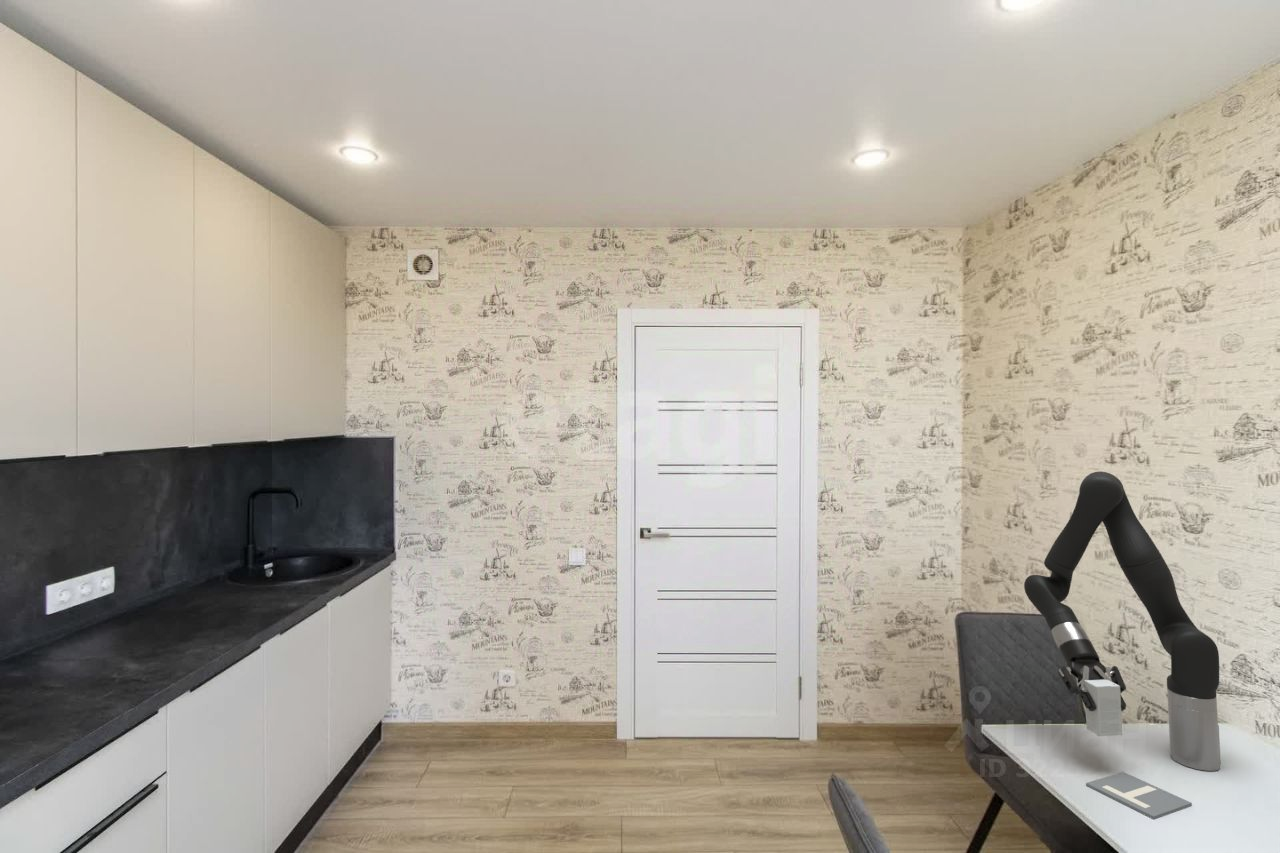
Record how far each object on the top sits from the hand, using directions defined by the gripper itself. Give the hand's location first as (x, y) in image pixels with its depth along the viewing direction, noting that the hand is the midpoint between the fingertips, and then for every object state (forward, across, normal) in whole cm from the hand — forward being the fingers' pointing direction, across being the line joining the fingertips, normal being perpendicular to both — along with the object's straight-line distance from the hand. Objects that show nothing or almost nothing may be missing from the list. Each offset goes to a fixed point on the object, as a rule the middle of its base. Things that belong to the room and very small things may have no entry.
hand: (1107, 709), depth 148 cm
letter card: (+17, 0, +5) cm, 18 cm away
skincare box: (+3, 0, +6) cm, 7 cm away
